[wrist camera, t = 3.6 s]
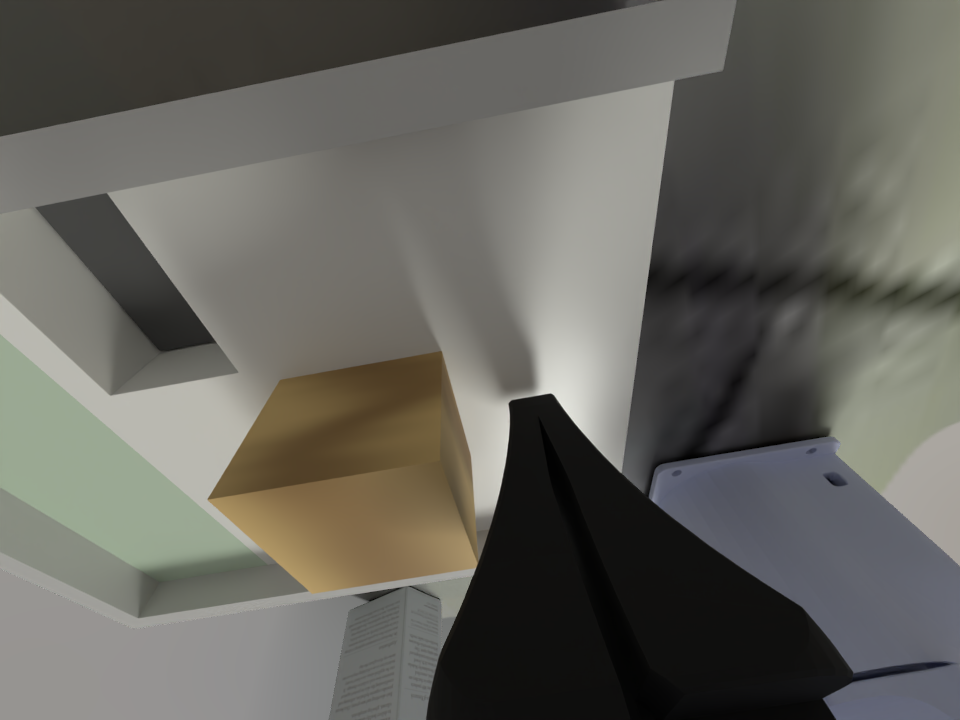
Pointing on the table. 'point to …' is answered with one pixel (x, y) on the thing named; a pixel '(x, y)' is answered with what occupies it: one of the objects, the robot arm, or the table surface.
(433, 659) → the skincare box
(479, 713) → the robot arm
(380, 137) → the trap box
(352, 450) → the ochre block
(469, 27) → the table surface
